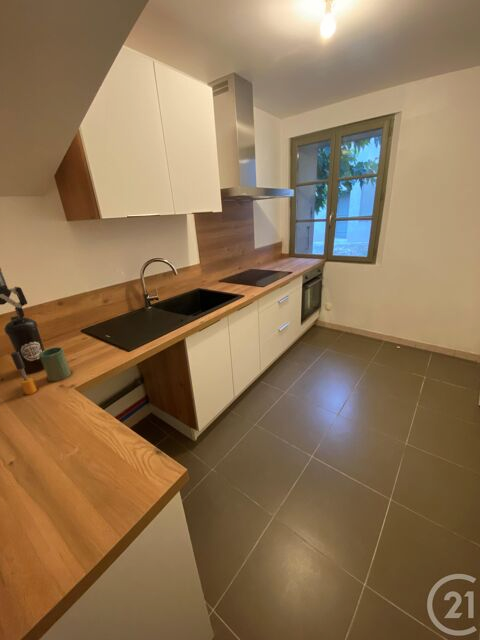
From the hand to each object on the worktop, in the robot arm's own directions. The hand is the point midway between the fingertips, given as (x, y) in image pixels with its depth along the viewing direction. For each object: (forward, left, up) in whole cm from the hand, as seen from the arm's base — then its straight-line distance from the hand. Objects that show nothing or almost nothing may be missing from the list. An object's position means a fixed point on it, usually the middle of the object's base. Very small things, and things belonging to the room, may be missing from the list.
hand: (5, 322), depth 84 cm
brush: (-2, +1, -27) cm, 27 cm away
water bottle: (-6, +21, -28) cm, 35 cm away
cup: (+5, +9, -27) cm, 29 cm away
